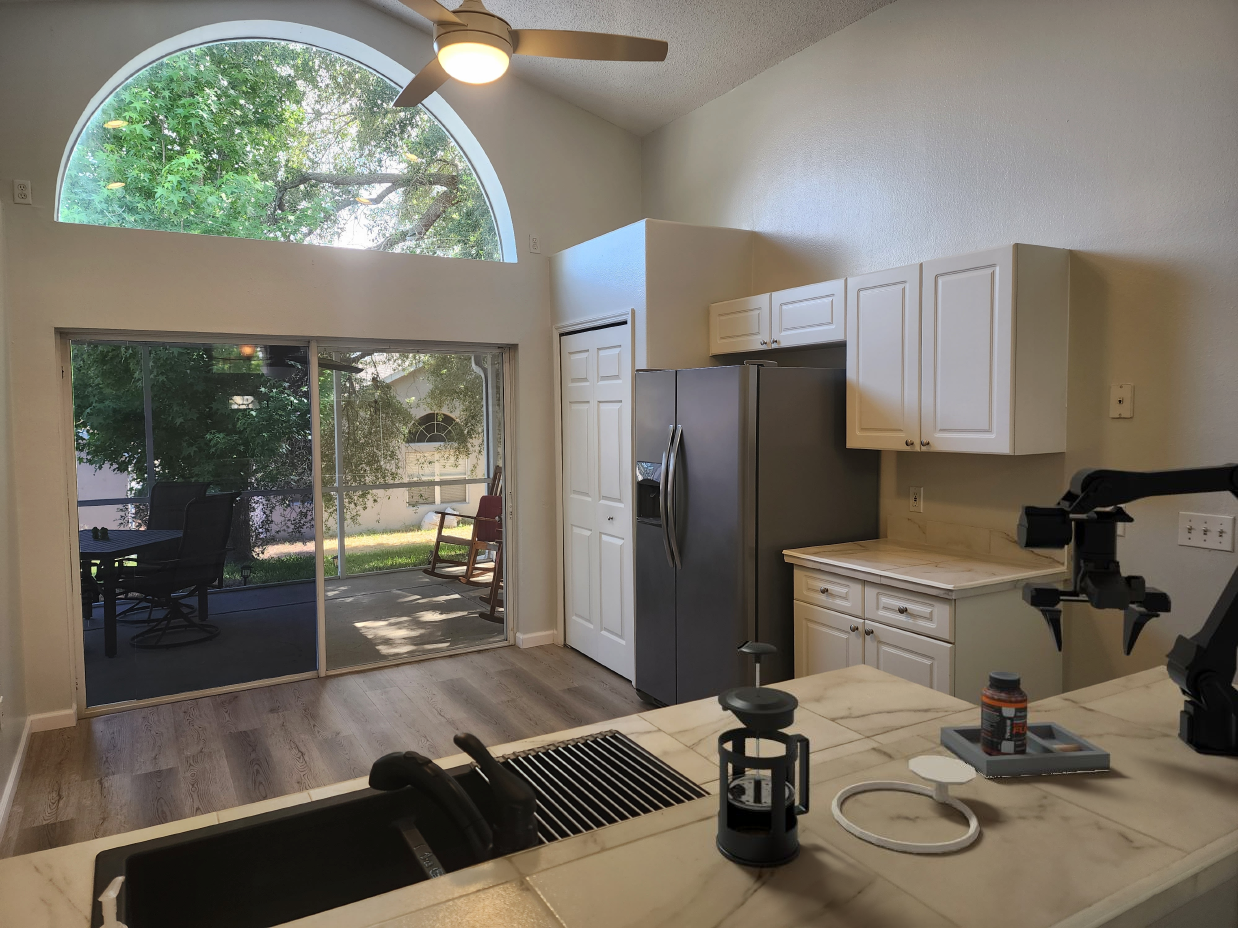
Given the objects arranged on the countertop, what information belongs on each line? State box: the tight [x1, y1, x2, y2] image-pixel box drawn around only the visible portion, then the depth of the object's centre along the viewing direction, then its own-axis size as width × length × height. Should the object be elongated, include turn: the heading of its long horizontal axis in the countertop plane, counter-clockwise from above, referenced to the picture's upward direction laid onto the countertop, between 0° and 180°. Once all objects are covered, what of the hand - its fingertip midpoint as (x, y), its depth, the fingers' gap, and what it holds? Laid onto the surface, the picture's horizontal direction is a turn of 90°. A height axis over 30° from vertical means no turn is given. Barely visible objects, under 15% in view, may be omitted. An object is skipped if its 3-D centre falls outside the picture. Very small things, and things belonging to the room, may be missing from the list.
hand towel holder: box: [831, 755, 981, 854], centre depth 97 cm, size 17×4×21 cm
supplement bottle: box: [980, 670, 1028, 756], centre depth 112 cm, size 6×6×11 cm
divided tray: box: [939, 721, 1111, 777], centre depth 113 cm, size 18×12×2 cm, turn 96°
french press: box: [715, 642, 811, 868], centre depth 89 cm, size 12×9×23 cm
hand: (1092, 653), depth 119 cm, fingers open, 9 cm apart
